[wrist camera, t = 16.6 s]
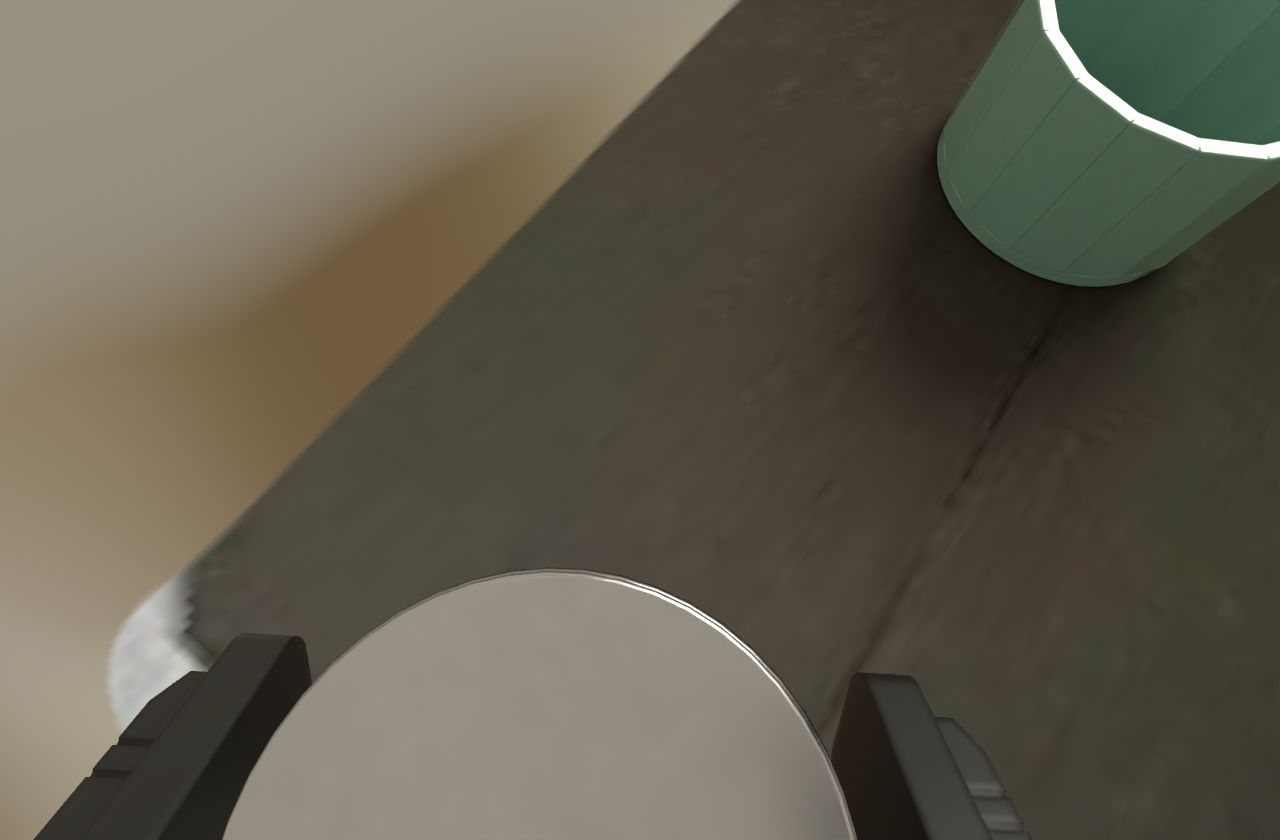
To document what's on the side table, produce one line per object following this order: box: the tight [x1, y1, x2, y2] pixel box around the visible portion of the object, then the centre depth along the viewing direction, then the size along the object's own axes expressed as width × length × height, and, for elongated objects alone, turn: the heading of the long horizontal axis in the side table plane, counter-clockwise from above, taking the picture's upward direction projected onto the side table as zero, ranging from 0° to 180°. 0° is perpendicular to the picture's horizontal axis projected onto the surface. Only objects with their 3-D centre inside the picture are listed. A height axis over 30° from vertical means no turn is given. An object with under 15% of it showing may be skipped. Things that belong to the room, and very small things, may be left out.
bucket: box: [937, 0, 1280, 287], centre depth 21 cm, size 9×9×6 cm
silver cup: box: [222, 568, 858, 840], centre depth 11 cm, size 6×6×11 cm
